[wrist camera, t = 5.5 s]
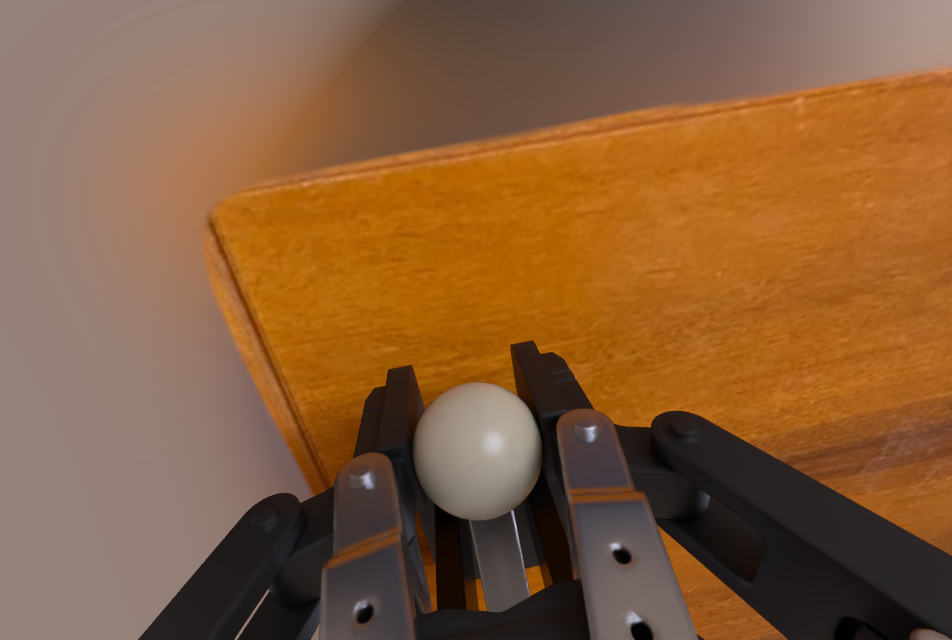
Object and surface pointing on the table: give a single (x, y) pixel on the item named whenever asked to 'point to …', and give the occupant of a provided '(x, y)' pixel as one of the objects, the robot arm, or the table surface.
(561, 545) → the bracket
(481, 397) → the lever
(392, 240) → the table surface
